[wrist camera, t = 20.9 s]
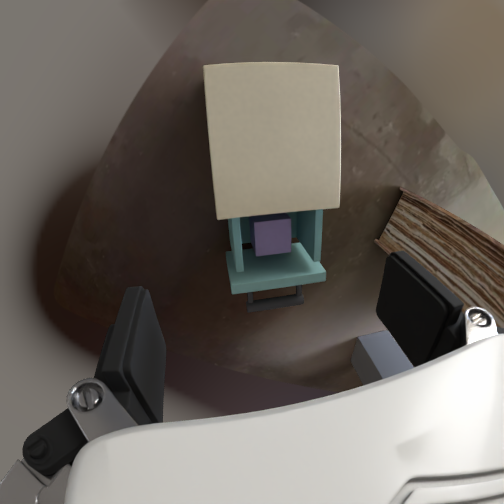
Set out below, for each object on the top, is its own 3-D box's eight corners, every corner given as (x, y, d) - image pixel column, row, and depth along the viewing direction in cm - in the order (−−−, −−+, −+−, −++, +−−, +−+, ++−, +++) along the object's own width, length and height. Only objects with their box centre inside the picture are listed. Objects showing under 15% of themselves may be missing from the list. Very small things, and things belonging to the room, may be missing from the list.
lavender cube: (250, 241, 35) (255, 256, 32) (248, 210, 34) (253, 222, 30) (282, 237, 36) (291, 252, 32) (282, 206, 34) (291, 218, 30)
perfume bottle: (378, 353, 53) (418, 419, 38) (350, 360, 53) (387, 432, 37) (387, 329, 50) (434, 397, 35) (357, 336, 50) (401, 411, 34)
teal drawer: (303, 280, 41) (322, 314, 34) (230, 291, 40) (236, 328, 33) (304, 155, 33) (331, 167, 26) (216, 162, 32) (219, 175, 25)
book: (371, 240, 40) (514, 389, 14) (399, 185, 37) (575, 298, 11) (453, 279, 48) (547, 374, 22) (474, 240, 45) (579, 325, 18)
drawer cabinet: (307, 184, 35) (339, 208, 27) (213, 192, 34) (217, 220, 26) (304, 76, 29) (338, 65, 21) (203, 79, 28) (203, 65, 19)
